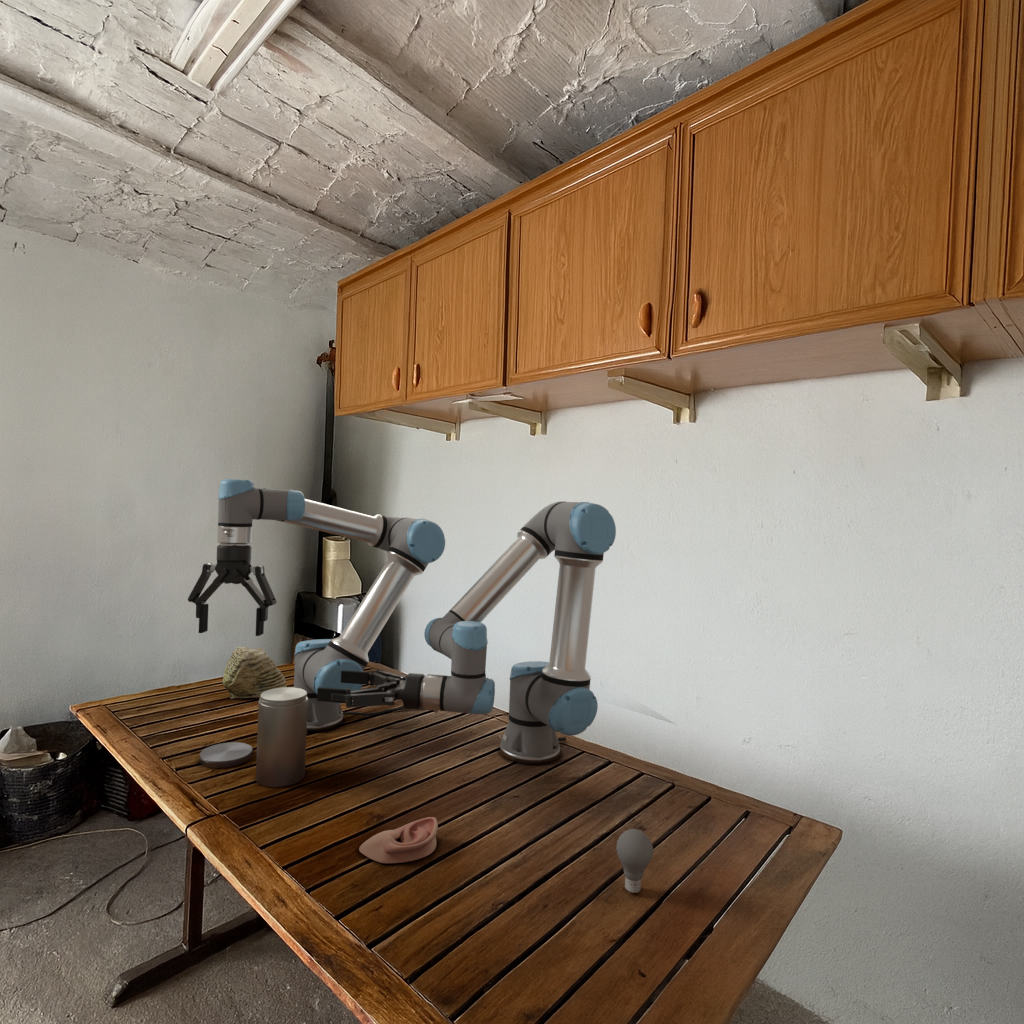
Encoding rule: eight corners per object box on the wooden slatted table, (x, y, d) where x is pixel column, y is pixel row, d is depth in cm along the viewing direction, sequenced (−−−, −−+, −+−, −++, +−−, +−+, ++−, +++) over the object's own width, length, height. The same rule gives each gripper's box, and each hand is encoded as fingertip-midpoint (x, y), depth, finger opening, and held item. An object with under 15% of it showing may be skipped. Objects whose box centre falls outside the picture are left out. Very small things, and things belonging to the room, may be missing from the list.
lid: (248, 745, 159) (249, 739, 159) (255, 763, 149) (255, 756, 149) (198, 752, 153) (198, 746, 153) (201, 771, 143) (201, 764, 143)
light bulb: (610, 879, 108) (613, 822, 108) (644, 879, 109) (647, 822, 109) (619, 902, 102) (622, 840, 102) (655, 901, 103) (658, 840, 103)
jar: (263, 791, 135) (266, 703, 135) (250, 773, 143) (253, 690, 143) (311, 780, 141) (314, 696, 141) (296, 763, 150) (299, 684, 149)
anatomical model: (352, 836, 111) (378, 805, 123) (351, 858, 111) (377, 826, 123) (423, 847, 109) (444, 815, 120) (422, 870, 109) (443, 836, 120)
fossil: (218, 695, 195) (220, 647, 195) (278, 685, 208) (279, 640, 207) (228, 703, 189) (230, 653, 188) (289, 692, 201) (290, 645, 201)
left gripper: (173, 542, 147) (170, 634, 147) (280, 547, 146) (276, 639, 146) (191, 540, 154) (188, 627, 155) (292, 545, 153) (289, 632, 154)
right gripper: (408, 729, 126) (305, 720, 128) (435, 691, 151) (349, 685, 153) (409, 691, 126) (307, 684, 128) (436, 660, 151) (350, 654, 153)
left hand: (231, 633), depth 150 cm, fingers open, 13 cm apart
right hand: (330, 684), depth 141 cm, fingers open, 13 cm apart
